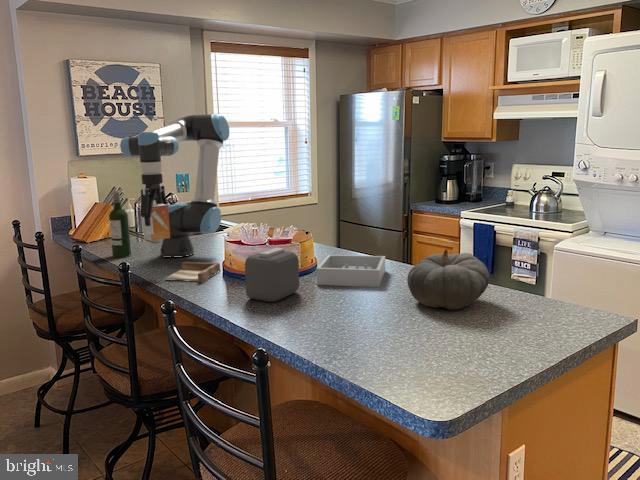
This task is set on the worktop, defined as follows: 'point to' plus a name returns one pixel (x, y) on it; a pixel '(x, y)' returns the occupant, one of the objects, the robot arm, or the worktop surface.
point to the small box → (158, 223)
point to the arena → (195, 271)
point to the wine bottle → (119, 229)
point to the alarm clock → (271, 275)
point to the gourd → (448, 280)
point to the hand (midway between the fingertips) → (156, 231)
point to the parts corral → (351, 271)
